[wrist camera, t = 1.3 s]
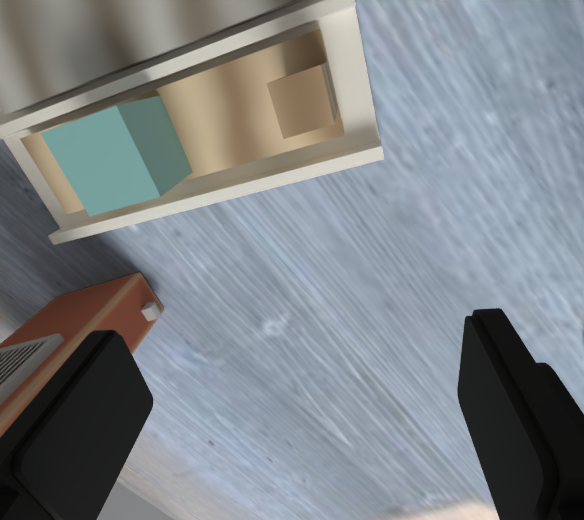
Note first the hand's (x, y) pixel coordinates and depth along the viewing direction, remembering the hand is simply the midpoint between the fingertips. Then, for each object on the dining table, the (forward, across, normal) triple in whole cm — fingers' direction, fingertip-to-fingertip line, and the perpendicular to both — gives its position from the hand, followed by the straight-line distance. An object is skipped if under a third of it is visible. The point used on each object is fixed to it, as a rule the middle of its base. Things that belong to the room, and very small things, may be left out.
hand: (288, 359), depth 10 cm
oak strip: (+23, +11, -3) cm, 26 cm away
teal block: (+21, +14, -3) cm, 26 cm away
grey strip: (+23, +13, -12) cm, 29 cm away
